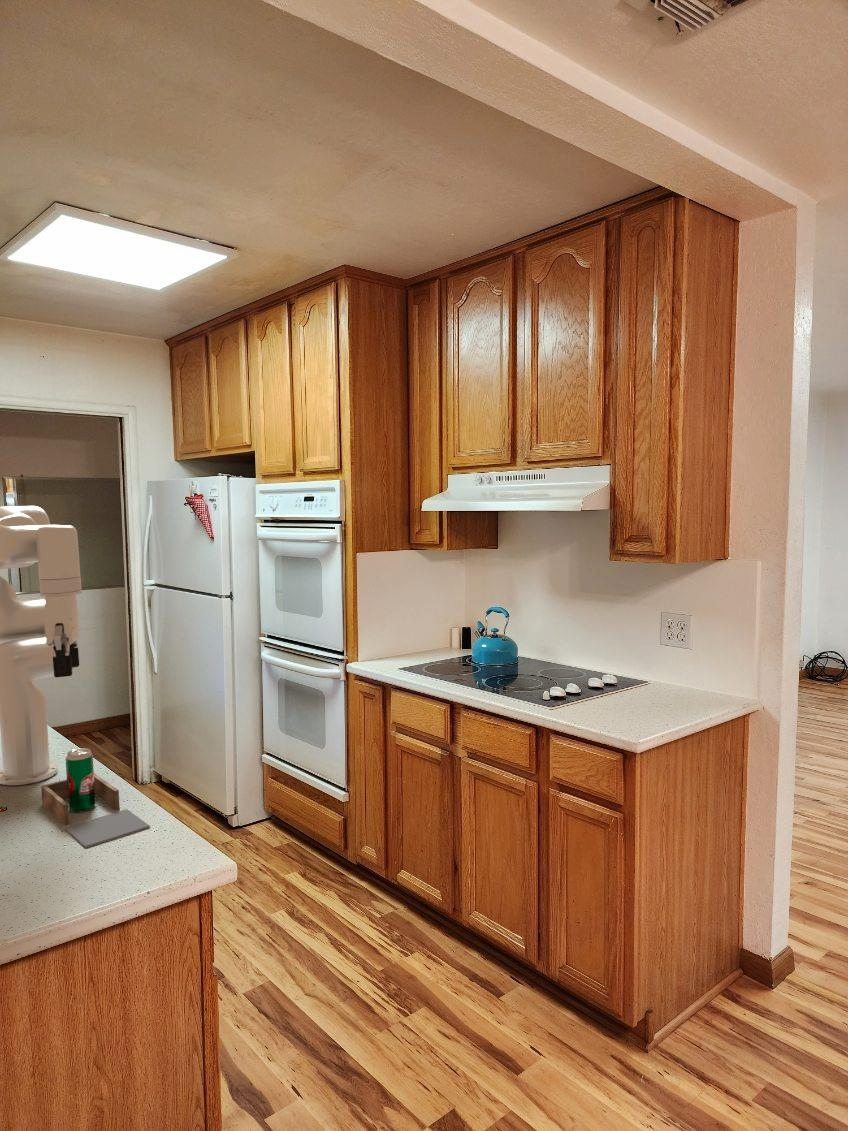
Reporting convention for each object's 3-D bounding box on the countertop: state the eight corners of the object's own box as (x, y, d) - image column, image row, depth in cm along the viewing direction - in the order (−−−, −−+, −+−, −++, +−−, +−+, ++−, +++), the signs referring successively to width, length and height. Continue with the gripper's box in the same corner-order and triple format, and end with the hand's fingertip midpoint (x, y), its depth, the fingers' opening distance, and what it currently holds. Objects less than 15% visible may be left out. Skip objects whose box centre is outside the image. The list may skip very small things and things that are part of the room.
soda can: (85, 814, 153) (82, 756, 152) (63, 812, 154) (59, 755, 153) (100, 804, 158) (97, 747, 157) (79, 802, 159) (75, 746, 158)
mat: (64, 829, 146) (64, 827, 146) (127, 810, 155) (126, 808, 154) (85, 848, 138) (85, 846, 138) (149, 827, 147) (149, 825, 146)
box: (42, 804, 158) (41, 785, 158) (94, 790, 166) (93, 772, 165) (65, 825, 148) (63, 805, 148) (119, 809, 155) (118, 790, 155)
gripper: (47, 585, 159) (54, 665, 160) (31, 592, 143) (38, 682, 144) (86, 582, 161) (92, 662, 163) (74, 589, 145) (81, 678, 146)
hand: (67, 671), depth 153 cm, fingers open, 9 cm apart
